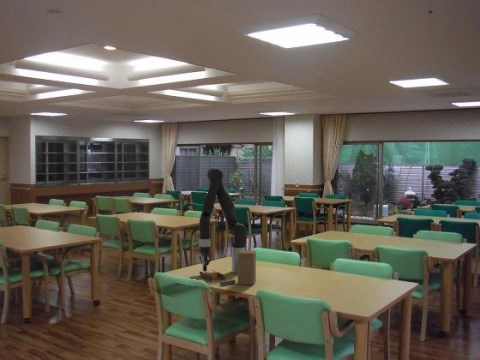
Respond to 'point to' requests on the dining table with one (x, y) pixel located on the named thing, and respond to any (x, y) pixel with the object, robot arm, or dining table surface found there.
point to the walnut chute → (211, 276)
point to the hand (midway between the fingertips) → (204, 271)
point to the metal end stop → (227, 282)
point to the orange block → (212, 273)
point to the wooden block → (246, 267)
